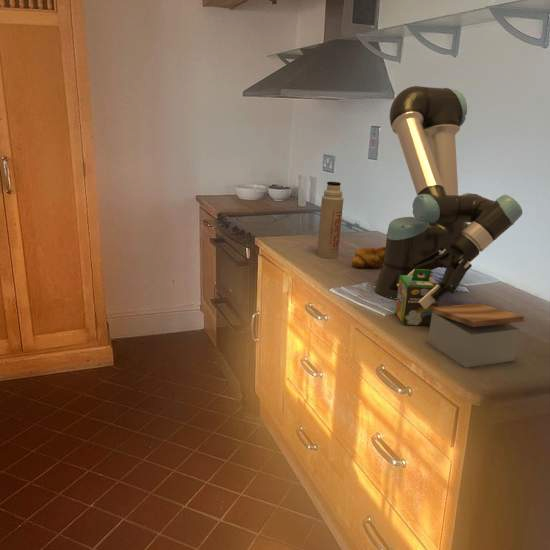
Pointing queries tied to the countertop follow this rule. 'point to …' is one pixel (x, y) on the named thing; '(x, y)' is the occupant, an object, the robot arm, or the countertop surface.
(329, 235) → the thermos bottle
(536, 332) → the countertop surface
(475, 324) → the walnut lid
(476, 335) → the grey crate
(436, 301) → the chalk box
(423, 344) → the countertop surface
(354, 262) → the bread roll
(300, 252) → the countertop surface
